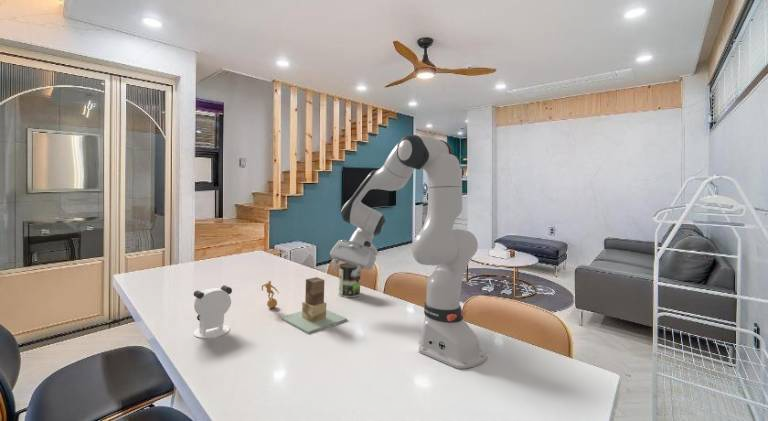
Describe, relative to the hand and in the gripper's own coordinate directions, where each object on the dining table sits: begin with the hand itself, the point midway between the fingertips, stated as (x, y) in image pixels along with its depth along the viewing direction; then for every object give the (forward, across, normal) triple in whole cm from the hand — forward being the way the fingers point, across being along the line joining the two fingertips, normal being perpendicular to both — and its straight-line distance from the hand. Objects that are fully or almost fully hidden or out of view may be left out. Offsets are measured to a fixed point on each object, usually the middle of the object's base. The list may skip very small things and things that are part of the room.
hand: (343, 272), depth 143 cm
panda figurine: (+41, -24, -18) cm, 51 cm away
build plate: (+21, -2, +1) cm, 21 cm away
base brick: (+21, -2, +1) cm, 21 cm away
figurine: (+24, -24, +2) cm, 34 cm away
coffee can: (+1, -10, +28) cm, 30 cm away
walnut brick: (+16, -3, -3) cm, 17 cm away
